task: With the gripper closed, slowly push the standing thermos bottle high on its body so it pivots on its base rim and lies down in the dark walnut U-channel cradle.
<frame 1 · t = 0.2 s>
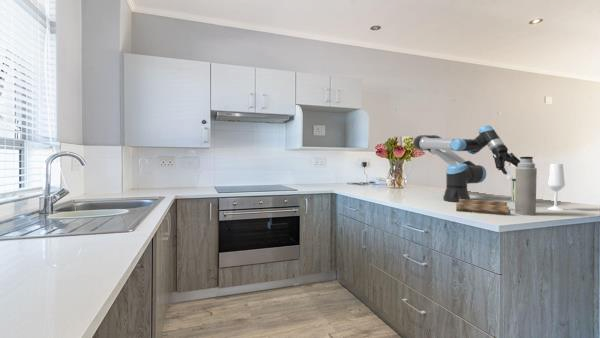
hand: (519, 178, 159), 16 cm above the worktop, tool tilted 35°, fingers open, 13 cm apart
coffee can: (521, 202, 174), on the worktop
cradle: (481, 210, 150), on the worktop
thermos bottle: (525, 214, 140), on the worktop
champagne flute: (555, 210, 149), on the worktop
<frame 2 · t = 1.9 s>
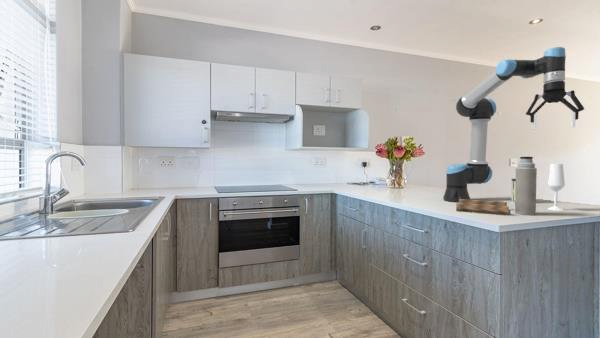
hand: (553, 128, 133), 41 cm above the worktop, tool pointing down, fingers open, 13 cm apart
nothing on the worktop moved.
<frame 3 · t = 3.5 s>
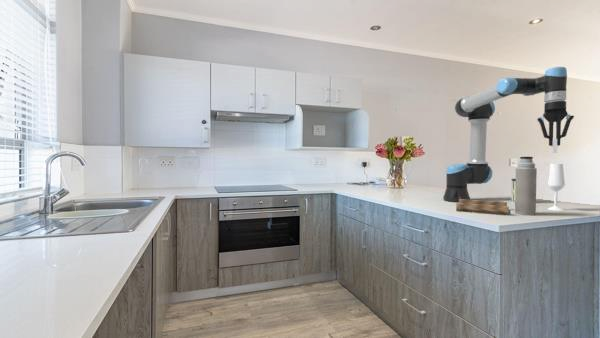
hand: (554, 152, 133), 30 cm above the worktop, tool pointing down, fingers closed
nothing on the worktop moved.
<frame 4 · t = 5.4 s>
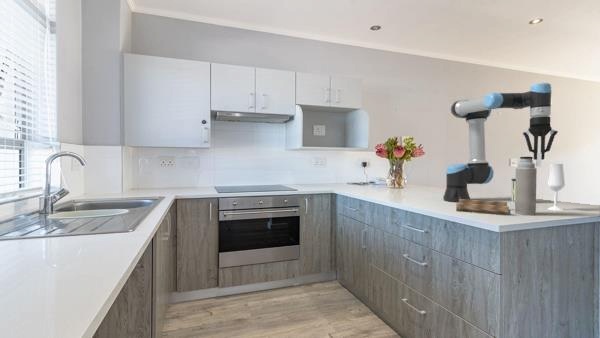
hand: (538, 166, 136), 23 cm above the worktop, tool pointing down, fingers closed
thermos bottle: (525, 214, 140), on the worktop, touching gripper
everything else where it was.
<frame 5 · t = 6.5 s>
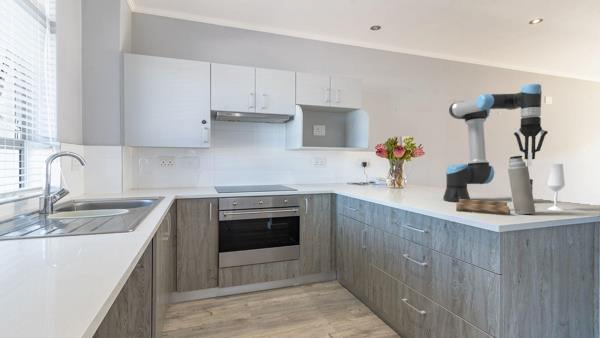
hand: (529, 166, 138), 23 cm above the worktop, tool pointing down, fingers closed
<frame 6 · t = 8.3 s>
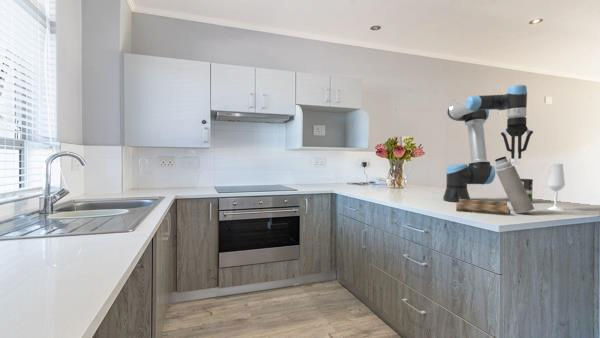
hand: (516, 165, 141), 24 cm above the worktop, tool pointing down, fingers closed
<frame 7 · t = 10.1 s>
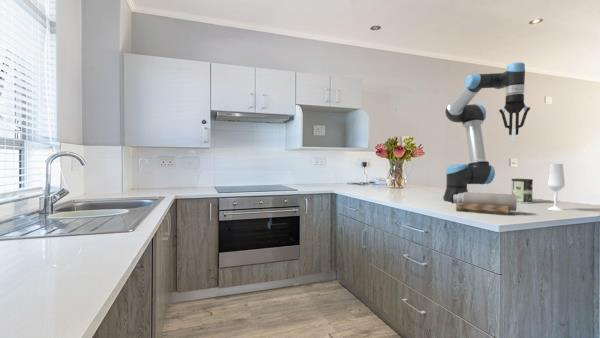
hand: (513, 141, 146), 36 cm above the worktop, tool pointing down, fingers closed
thermos bottle: (516, 202, 139), point 5 cm above the worktop, touching cradle
everything else where it was.
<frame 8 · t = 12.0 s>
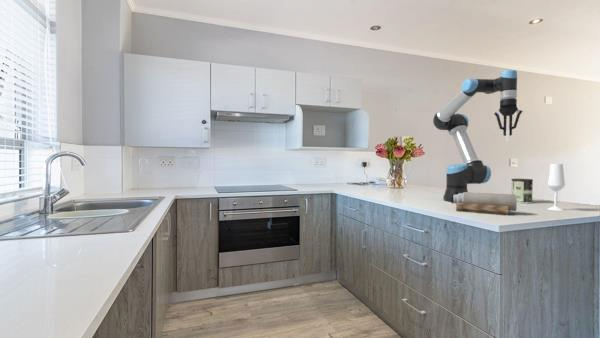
hand: (507, 141, 159), 36 cm above the worktop, tool pointing down, fingers closed
nothing on the worktop moved.
at the end: thermos bottle tilted 90°; thermos bottle touching cradle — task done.
